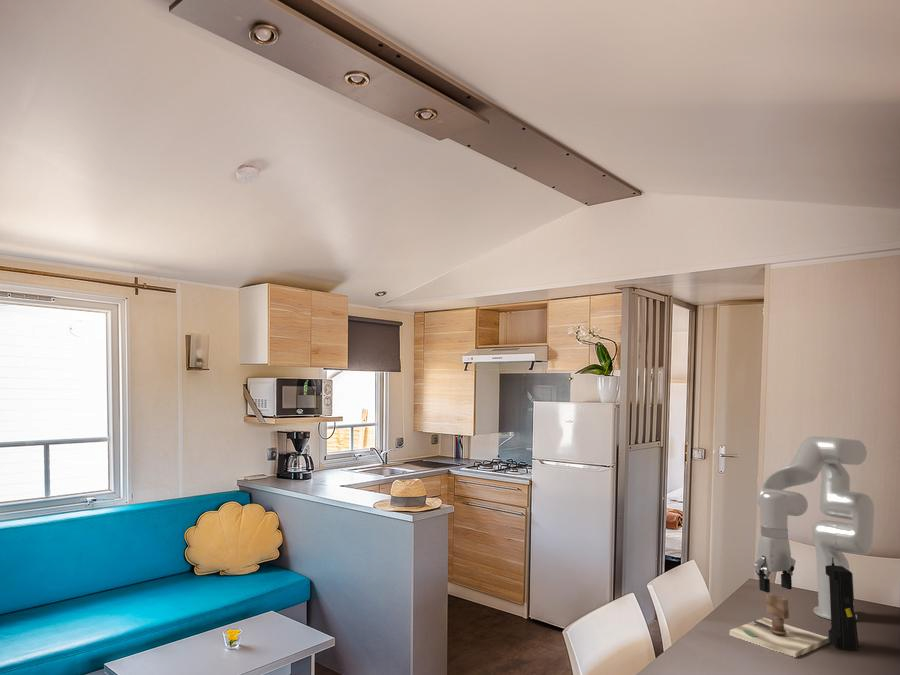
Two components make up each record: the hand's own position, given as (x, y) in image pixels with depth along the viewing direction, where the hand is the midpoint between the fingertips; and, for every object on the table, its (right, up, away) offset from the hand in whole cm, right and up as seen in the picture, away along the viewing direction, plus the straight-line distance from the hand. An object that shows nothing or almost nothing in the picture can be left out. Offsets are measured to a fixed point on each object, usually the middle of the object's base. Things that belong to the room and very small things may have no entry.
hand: (775, 589), depth 191 cm
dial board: (0, -15, -1) cm, 15 cm away
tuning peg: (-1, -13, +2) cm, 13 cm away
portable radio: (+17, -15, -6) cm, 24 cm away
